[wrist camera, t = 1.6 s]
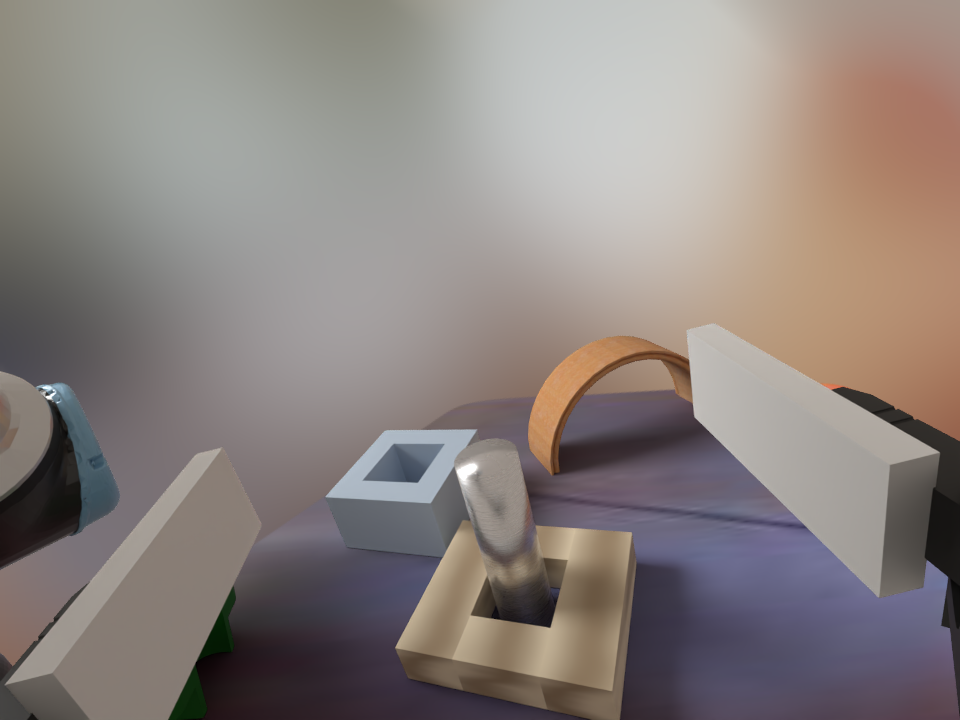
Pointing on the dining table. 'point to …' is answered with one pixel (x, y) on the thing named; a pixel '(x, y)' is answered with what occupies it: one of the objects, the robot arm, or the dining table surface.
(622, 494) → the dining table surface
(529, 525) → the steel axle
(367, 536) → the slate holder block
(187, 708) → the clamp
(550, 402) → the arch
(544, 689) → the birch block
